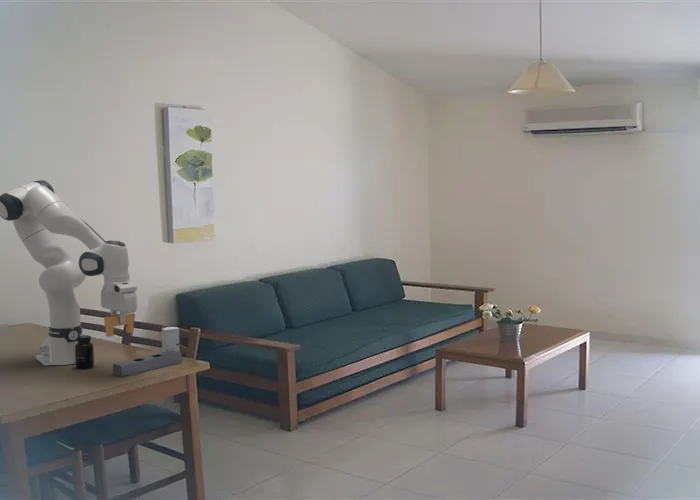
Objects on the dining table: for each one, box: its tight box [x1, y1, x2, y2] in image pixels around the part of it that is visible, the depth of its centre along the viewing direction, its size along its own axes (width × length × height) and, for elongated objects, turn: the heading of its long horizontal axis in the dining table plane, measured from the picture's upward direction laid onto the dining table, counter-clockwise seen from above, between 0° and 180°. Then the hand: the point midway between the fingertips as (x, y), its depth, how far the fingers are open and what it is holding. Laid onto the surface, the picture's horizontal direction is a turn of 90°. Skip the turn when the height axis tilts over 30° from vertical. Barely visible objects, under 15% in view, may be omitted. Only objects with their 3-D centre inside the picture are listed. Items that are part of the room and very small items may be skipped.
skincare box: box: [161, 326, 180, 353], centre depth 287 cm, size 6×4×12 cm
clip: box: [103, 313, 135, 338], centre depth 263 cm, size 3×10×7 cm, turn 136°
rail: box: [112, 350, 183, 378], centre depth 272 cm, size 6×26×4 cm, turn 138°
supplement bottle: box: [74, 334, 95, 370], centre depth 274 cm, size 7×7×12 cm
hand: (119, 322), depth 263 cm, fingers closed on clip, 3 cm apart
